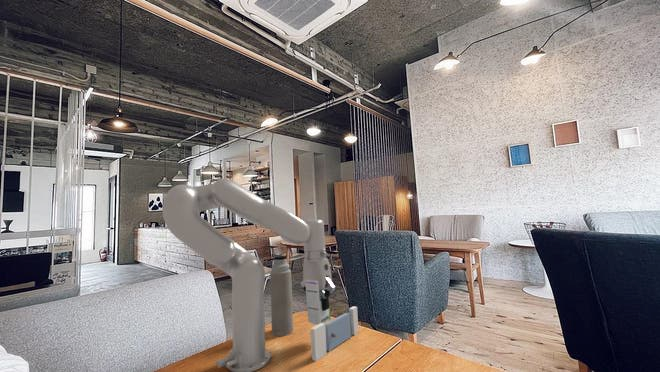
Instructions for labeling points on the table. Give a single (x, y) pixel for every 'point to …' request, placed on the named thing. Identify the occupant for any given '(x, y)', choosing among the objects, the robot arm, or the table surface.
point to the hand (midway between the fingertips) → (318, 307)
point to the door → (338, 330)
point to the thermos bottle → (281, 297)
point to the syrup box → (315, 303)
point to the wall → (320, 335)
